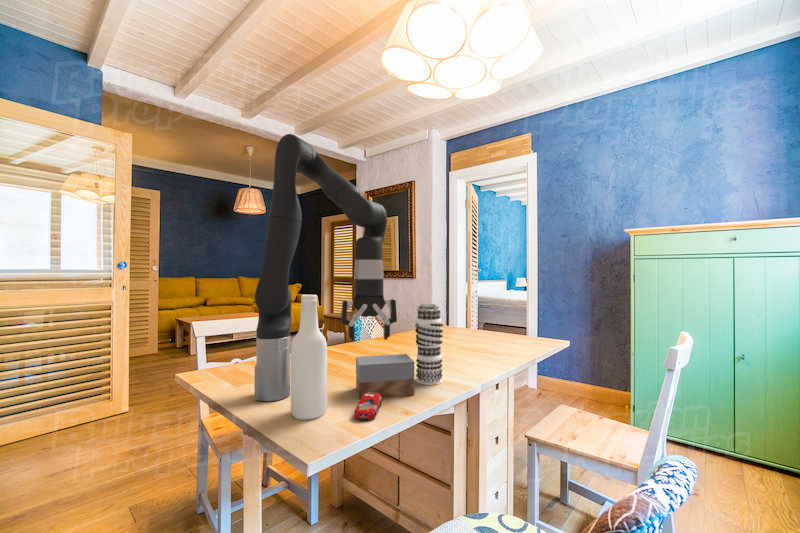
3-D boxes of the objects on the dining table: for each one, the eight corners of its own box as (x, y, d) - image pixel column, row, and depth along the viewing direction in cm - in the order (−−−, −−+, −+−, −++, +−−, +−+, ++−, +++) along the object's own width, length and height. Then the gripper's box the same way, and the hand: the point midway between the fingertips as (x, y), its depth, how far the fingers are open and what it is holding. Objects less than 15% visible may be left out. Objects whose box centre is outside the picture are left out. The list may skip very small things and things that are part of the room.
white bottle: (284, 413, 89) (284, 295, 89) (315, 404, 95) (315, 293, 96) (302, 424, 83) (302, 296, 83) (333, 413, 89) (333, 295, 89)
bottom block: (358, 401, 99) (358, 383, 99) (356, 389, 109) (356, 373, 109) (414, 396, 102) (414, 379, 102) (406, 385, 112) (406, 370, 112)
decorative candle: (443, 376, 120) (442, 303, 120) (443, 385, 110) (443, 305, 111) (416, 376, 121) (415, 303, 121) (414, 384, 111) (414, 305, 112)
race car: (373, 423, 84) (373, 406, 84) (351, 422, 85) (351, 405, 85) (384, 403, 97) (384, 388, 97) (364, 402, 98) (364, 387, 98)
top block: (359, 383, 99) (359, 365, 99) (355, 372, 109) (355, 356, 109) (414, 379, 102) (414, 361, 102) (406, 369, 112) (406, 353, 112)
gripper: (393, 277, 97) (393, 336, 96) (340, 277, 94) (340, 338, 94) (398, 277, 89) (398, 341, 89) (341, 278, 87) (342, 344, 86)
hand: (369, 339), depth 91 cm, fingers open, 8 cm apart
